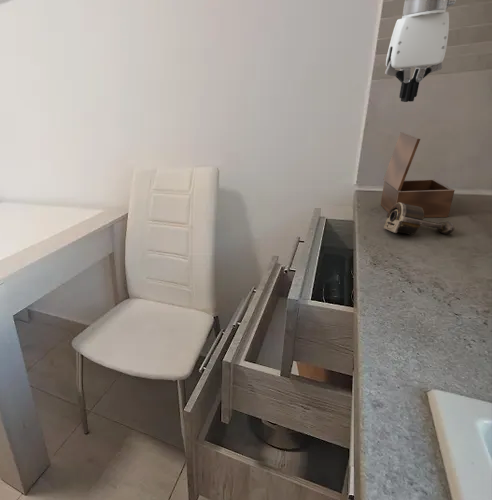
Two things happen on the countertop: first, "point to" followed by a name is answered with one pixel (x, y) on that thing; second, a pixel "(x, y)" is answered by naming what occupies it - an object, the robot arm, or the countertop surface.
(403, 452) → the countertop surface
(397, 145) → the lid
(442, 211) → the keepsake box
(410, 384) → the countertop surface
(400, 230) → the security camera
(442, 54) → the robot arm
